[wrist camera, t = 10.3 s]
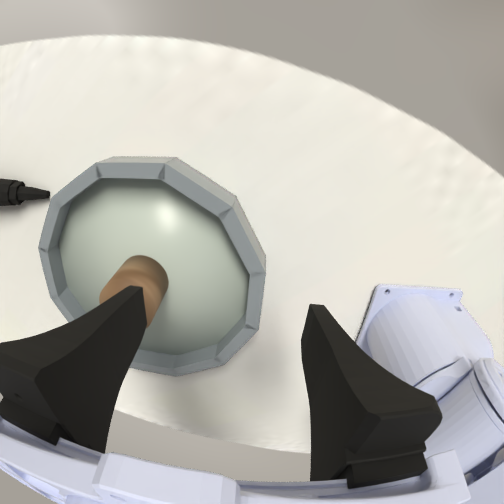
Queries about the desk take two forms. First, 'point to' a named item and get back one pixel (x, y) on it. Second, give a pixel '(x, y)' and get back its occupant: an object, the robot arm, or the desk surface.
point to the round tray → (159, 256)
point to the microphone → (18, 192)
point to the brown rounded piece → (139, 282)
